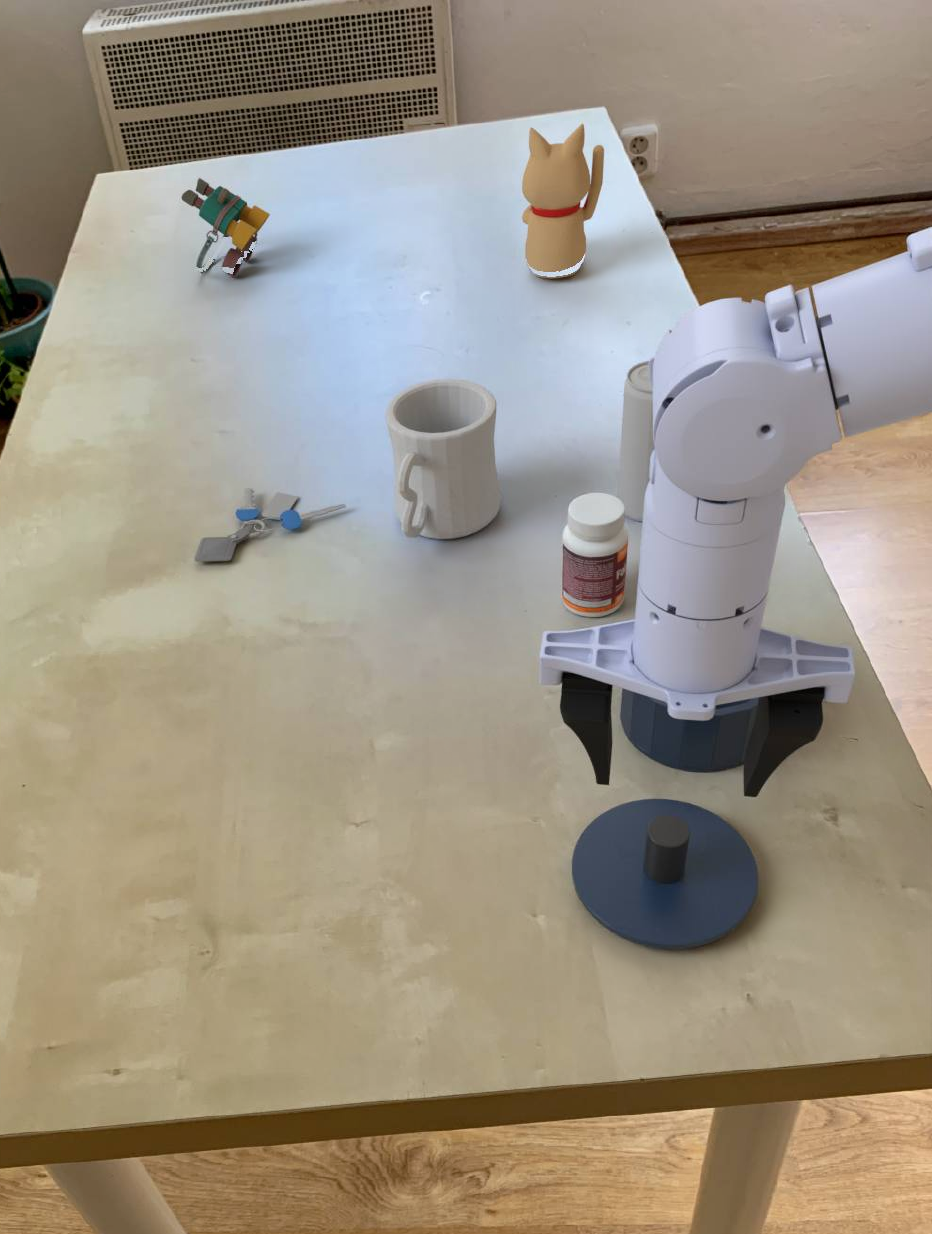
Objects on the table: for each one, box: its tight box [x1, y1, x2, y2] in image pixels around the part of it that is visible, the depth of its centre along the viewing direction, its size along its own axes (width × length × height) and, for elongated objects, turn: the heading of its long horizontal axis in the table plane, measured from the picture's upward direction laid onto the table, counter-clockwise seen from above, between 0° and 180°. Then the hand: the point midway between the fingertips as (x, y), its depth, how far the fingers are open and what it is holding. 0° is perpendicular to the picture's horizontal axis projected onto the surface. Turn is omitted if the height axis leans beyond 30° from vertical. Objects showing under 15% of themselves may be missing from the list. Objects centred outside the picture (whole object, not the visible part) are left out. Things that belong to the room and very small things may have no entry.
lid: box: [571, 798, 759, 950], centre depth 64 cm, size 11×11×5 cm
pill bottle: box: [560, 492, 629, 618], centre depth 81 cm, size 5×5×8 cm
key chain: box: [194, 487, 347, 563], centre depth 96 cm, size 14×8×1 cm, turn 121°
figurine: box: [521, 123, 605, 279], centre depth 117 cm, size 9×10×15 cm
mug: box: [384, 378, 502, 540], centre depth 89 cm, size 12×9×10 cm
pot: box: [619, 688, 759, 773], centre depth 73 cm, size 10×10×5 cm
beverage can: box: [617, 360, 655, 523], centre depth 87 cm, size 5×5×12 cm
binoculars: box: [181, 177, 271, 279], centre depth 130 cm, size 9×9×10 cm
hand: (675, 776), depth 59 cm, fingers open, 7 cm apart
